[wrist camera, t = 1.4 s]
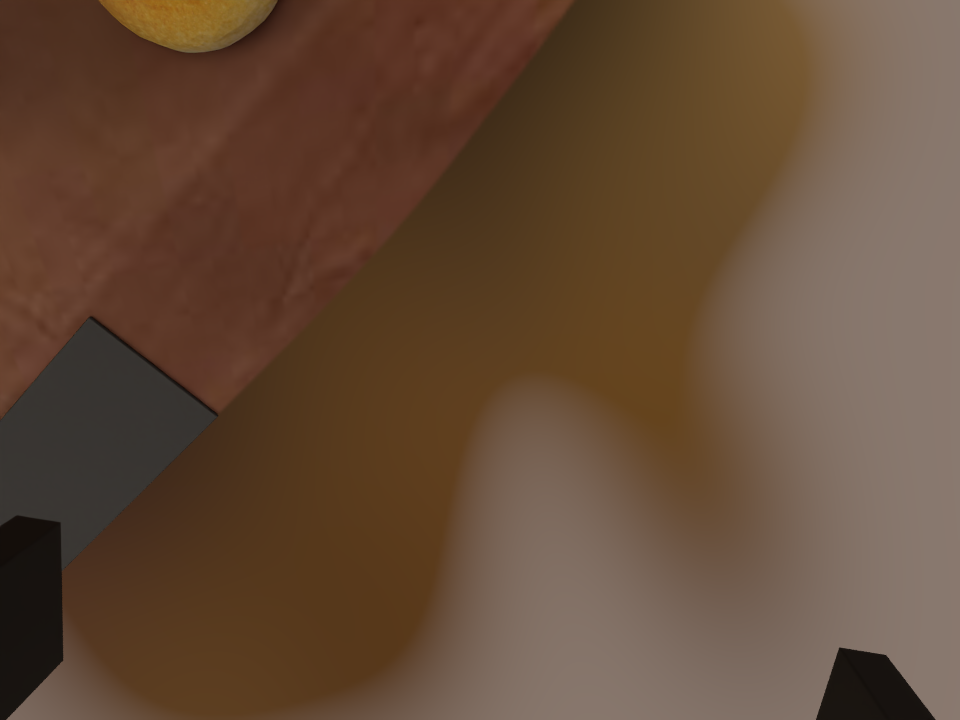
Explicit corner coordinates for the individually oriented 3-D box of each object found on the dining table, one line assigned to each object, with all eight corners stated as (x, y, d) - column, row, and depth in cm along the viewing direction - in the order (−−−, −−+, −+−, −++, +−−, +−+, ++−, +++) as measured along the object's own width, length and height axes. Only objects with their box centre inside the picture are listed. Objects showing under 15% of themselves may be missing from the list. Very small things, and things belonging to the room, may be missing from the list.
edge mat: (23, 608, 43) (21, 610, 43) (-98, 535, 41) (-101, 537, 41) (218, 415, 37) (217, 417, 37) (90, 316, 35) (88, 317, 35)
